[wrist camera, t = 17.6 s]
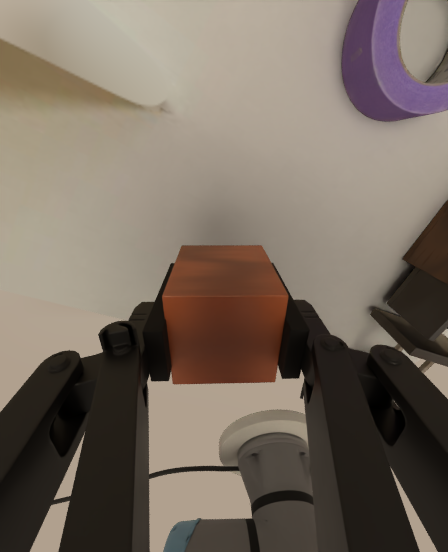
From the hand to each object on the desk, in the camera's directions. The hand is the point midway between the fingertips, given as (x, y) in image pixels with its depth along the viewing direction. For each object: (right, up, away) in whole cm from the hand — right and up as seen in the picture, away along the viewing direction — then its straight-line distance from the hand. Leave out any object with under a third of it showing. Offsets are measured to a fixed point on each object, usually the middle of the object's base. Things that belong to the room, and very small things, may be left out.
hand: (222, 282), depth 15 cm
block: (0, 0, 0) cm, 0 cm away
